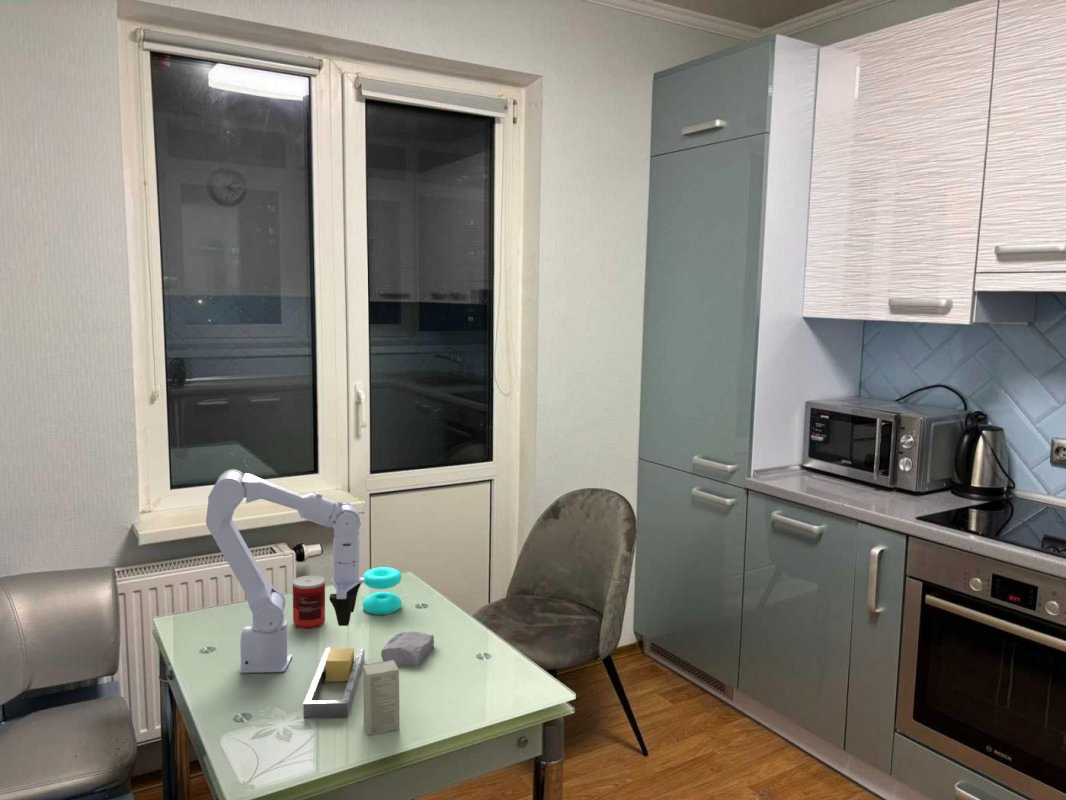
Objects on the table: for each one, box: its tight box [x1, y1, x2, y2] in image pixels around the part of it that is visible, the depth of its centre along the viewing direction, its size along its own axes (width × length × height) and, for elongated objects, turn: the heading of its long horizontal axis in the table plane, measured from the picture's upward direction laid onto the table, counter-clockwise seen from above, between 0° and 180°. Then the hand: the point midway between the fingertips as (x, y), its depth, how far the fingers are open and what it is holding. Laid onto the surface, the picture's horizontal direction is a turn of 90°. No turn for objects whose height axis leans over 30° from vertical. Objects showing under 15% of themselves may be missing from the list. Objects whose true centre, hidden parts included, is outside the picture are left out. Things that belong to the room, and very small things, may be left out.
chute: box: [302, 646, 365, 719], centre depth 166 cm, size 8×25×3 cm, turn 5°
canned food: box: [292, 574, 326, 630], centre depth 198 cm, size 8×8×11 cm
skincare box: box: [362, 660, 401, 736], centre depth 151 cm, size 6×4×12 cm
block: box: [325, 647, 355, 682], centre depth 171 cm, size 5×6×4 cm
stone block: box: [380, 630, 435, 667], centre depth 183 cm, size 12×5×10 cm
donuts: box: [362, 566, 402, 615], centre depth 209 cm, size 10×10×10 cm
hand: (346, 618), depth 179 cm, fingers open, 7 cm apart
